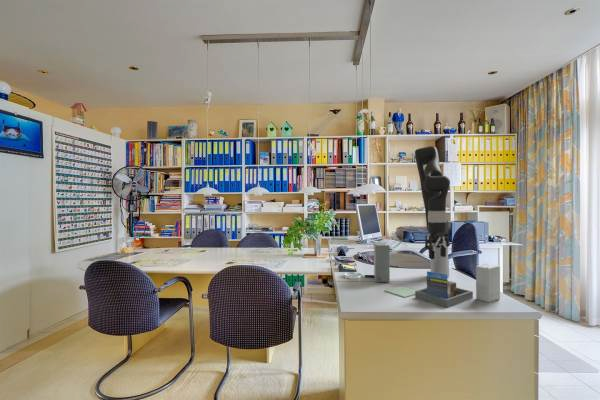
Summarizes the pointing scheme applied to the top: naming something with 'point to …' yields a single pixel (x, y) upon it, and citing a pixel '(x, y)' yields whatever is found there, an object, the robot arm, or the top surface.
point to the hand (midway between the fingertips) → (437, 257)
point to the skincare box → (488, 282)
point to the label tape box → (438, 285)
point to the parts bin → (461, 297)
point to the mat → (401, 291)
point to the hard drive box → (381, 262)
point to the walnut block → (452, 289)
